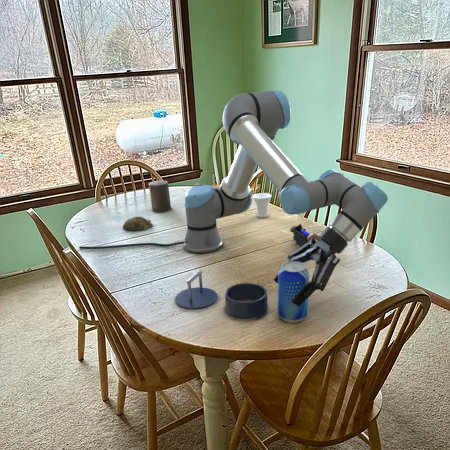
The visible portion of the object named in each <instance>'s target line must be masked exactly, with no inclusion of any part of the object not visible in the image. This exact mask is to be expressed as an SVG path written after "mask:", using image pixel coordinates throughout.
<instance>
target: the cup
mask: <svg viewBox="0 0 450 450" xmlns="http://www.w3.org/2000/svg"><path fill="white" fill-rule="evenodd" d="M251 198H252V201H253V202H254V205H255V208H256V216H257V218H260V219H264V218H268V217H269V216H270V215H269V214H270V213H269V208H270V202H271V199H272V194H271V193H268V192H258V193H254V194H252V197H251Z"/></svg>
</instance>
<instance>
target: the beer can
mask: <svg viewBox="0 0 450 450" xmlns="http://www.w3.org/2000/svg"><path fill="white" fill-rule="evenodd" d="M277 275H278V283H277V314H278V316H279V317H280V319H281V320H282V321H284V322H286V323H292V324H295V323H300V322H302V321H303V320H304V319H305V318H306V317H307V316H308V311H309V298H307V299H306V300H305V301H304V302H303V303H302V304H301V305H300V306H299V307H298V306H297V305H295V304H294V303H293V302H292V301H291V300H292V299H293V298H294V297H295V296H296V295H297V294H298V293H299V292H300V291H301V290H302V289H303V287H304V286H305V285H306V284H307V283H309V282H310V272H309V269H307V265H306V264H305V262H304V263H302V262H297V261H290V262H288V261H286V262H284V263H282V265H281V268H280V270H279V271H278V273H277Z"/></svg>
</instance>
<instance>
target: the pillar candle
mask: <svg viewBox="0 0 450 450" xmlns="http://www.w3.org/2000/svg"><path fill="white" fill-rule="evenodd" d="M169 187H170V186H169V181H167V180H154V181H151V182H148V189H149V196H150V197H149V198H150V203H151V204H150V205H151V209H152V212H155V213H165V212H168V211H170V210H172V204H171V203H172V202H171V195H170V188H169Z"/></svg>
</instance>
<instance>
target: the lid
mask: <svg viewBox="0 0 450 450" xmlns="http://www.w3.org/2000/svg"><path fill="white" fill-rule="evenodd" d="M202 274H203V271H202V269H199V270H198V271H197V272H195V273H194V274H193V275H192V276H191V277H190V278H189V279H188V280H186V284H187V288H186V289H184V290H181V291H180V292H178V293H177V294H176V296H175V298H174V302H175V304H176V305H177V306H178V307H179V308H182V309H186V310H203V309H207V308H209V307H211V306H213V305H214V304H216V303H217V302H218V299H219V295H218V293H217V292H216V291H215V290H214V289H211V288H208V287H203V286H204V285H203V275H202ZM197 278H198V283H199V284H198V285H199V287H192V283H193V282H194V281H195V280H196V279H197Z"/></svg>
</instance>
